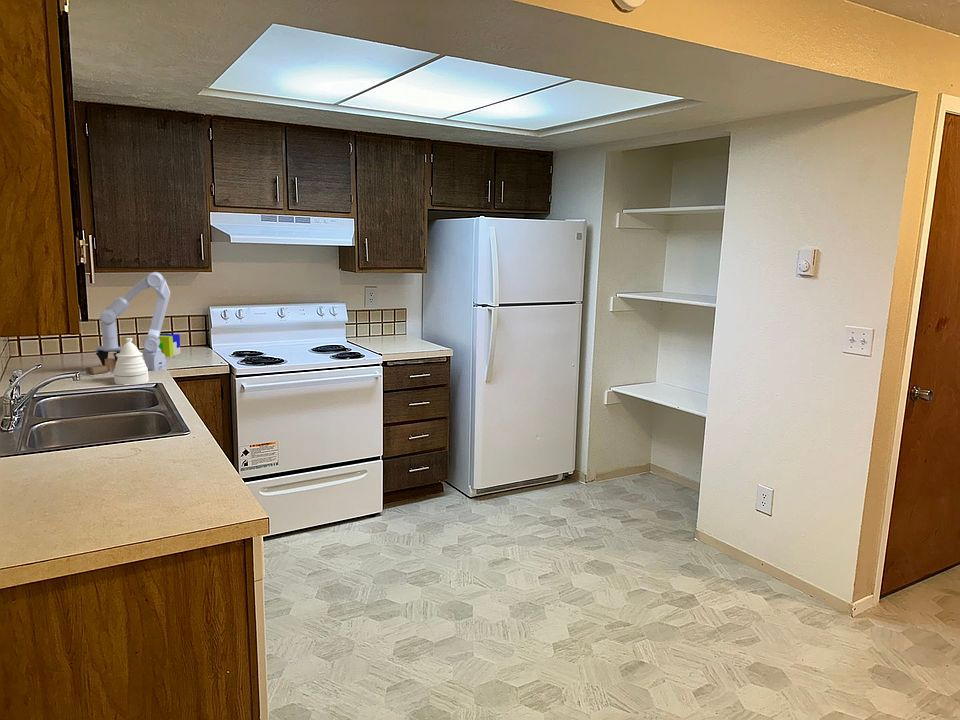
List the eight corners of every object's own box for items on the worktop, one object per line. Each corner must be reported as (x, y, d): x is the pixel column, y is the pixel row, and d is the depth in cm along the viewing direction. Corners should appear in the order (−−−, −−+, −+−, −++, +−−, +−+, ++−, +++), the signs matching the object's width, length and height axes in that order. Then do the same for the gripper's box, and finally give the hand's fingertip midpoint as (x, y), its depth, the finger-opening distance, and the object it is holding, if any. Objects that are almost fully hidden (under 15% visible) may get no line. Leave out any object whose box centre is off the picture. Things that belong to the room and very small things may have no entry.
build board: (132, 372, 299) (132, 369, 299) (91, 379, 284) (91, 376, 284) (116, 369, 305) (116, 366, 305) (76, 375, 290) (76, 372, 290)
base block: (107, 373, 292) (107, 366, 291) (93, 375, 287) (93, 368, 286) (99, 371, 295) (99, 364, 294) (85, 373, 290) (85, 366, 289)
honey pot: (115, 379, 284) (112, 337, 281) (149, 377, 290) (146, 336, 286) (113, 385, 273) (109, 342, 270) (148, 383, 278) (145, 340, 275)
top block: (119, 369, 299) (118, 358, 298) (110, 371, 296) (109, 360, 295) (114, 368, 301) (113, 357, 300) (105, 370, 298) (104, 359, 297)
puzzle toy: (180, 353, 349) (179, 334, 347) (169, 356, 339) (168, 337, 337) (162, 352, 350) (161, 333, 348) (151, 355, 340) (149, 336, 338)
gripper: (130, 336, 299) (133, 366, 301) (101, 335, 301) (103, 365, 303) (120, 339, 292) (122, 369, 294) (90, 337, 294) (92, 368, 296)
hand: (112, 367), depth 298 cm, fingers open, 6 cm apart
